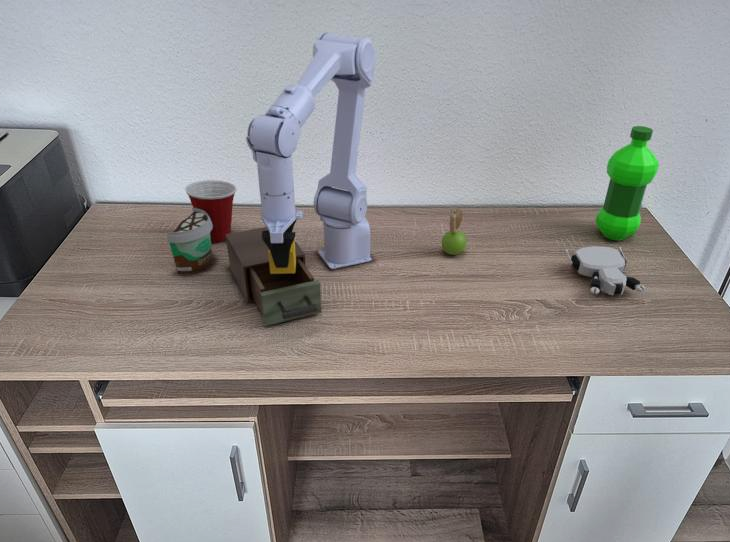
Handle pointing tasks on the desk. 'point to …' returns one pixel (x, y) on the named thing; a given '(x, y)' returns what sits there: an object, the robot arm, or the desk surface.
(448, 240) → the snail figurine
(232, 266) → the cabinet
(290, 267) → the block
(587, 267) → the robot toy
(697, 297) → the desk surface
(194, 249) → the food container
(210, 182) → the plastic cup
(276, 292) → the drawer
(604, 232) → the plastic bottle
